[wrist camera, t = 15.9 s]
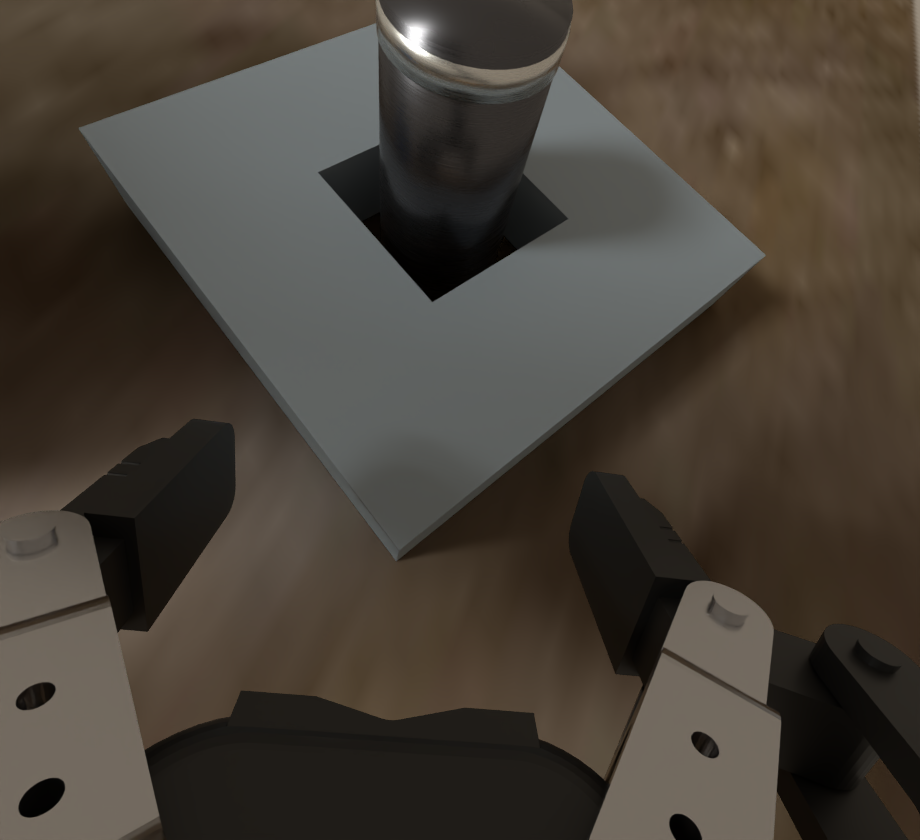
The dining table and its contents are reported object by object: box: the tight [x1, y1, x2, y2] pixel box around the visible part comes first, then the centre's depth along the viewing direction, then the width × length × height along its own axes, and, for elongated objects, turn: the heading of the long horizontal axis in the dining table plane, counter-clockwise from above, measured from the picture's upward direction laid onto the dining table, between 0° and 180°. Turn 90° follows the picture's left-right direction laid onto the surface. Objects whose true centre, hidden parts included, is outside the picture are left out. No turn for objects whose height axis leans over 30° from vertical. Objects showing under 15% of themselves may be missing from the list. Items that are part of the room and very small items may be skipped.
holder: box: [79, 24, 766, 561], centre depth 20 cm, size 18×18×3 cm
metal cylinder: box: [376, 0, 573, 302], centre depth 16 cm, size 5×5×10 cm
